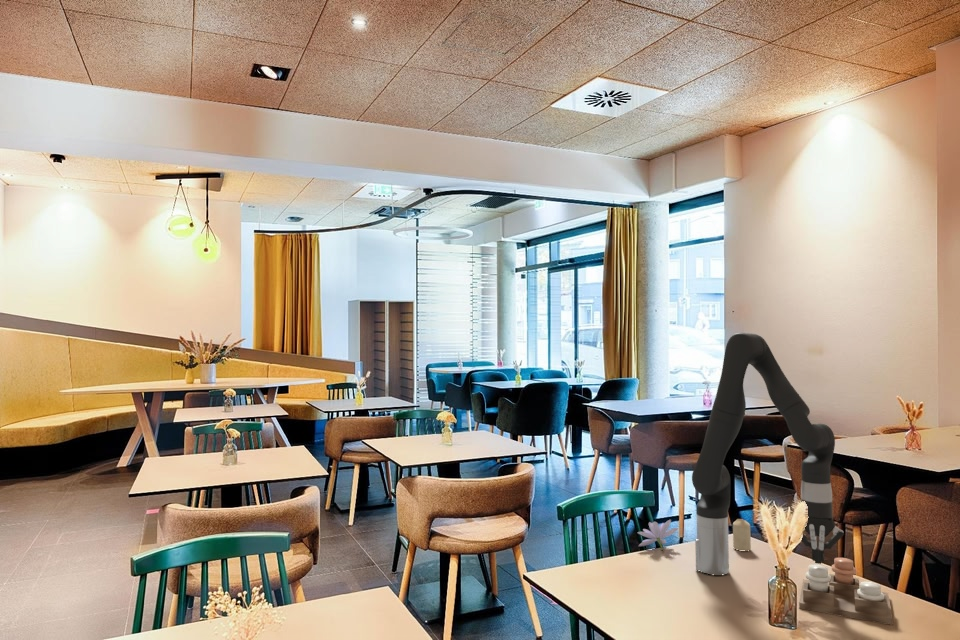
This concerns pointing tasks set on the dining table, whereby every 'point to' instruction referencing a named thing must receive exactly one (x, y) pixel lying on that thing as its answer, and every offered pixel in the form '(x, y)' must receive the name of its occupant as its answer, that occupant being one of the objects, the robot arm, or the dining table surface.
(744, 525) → the candle
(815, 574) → the knob
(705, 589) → the dining table surface
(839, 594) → the mount block
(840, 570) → the middle knob
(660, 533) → the water lily
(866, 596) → the knob
